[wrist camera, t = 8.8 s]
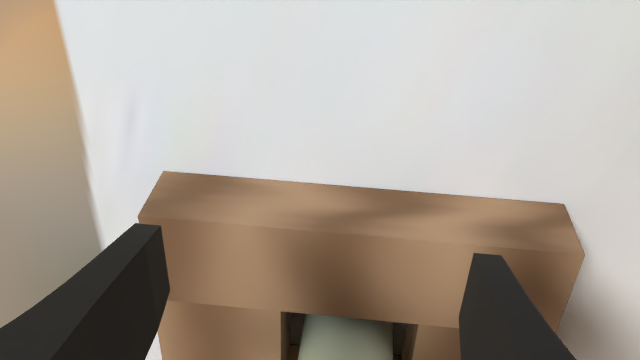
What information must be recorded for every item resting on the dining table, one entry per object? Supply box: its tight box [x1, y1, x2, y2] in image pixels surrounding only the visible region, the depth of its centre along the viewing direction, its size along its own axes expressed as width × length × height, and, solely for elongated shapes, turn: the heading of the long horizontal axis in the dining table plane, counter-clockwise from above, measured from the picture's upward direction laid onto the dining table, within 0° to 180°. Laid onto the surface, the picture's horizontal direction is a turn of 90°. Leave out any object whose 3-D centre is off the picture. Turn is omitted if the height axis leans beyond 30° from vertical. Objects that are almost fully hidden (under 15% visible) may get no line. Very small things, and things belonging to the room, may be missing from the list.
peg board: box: [138, 171, 585, 360], centre depth 26 cm, size 16×14×3 cm
